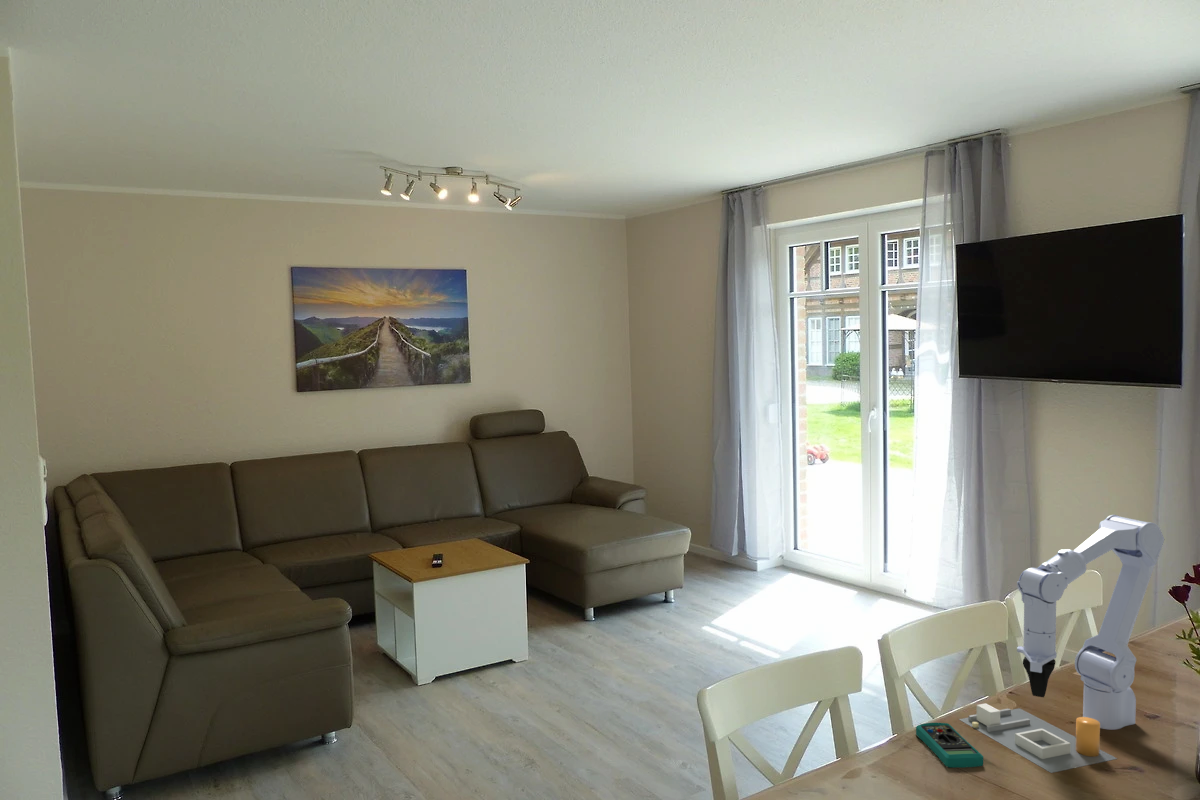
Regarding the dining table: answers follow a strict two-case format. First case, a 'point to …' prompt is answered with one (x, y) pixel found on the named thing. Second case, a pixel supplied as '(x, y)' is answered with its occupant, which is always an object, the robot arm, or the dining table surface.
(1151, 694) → the dining table surface
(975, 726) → the panel
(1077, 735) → the cap
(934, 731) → the digital multimeter
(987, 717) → the block
